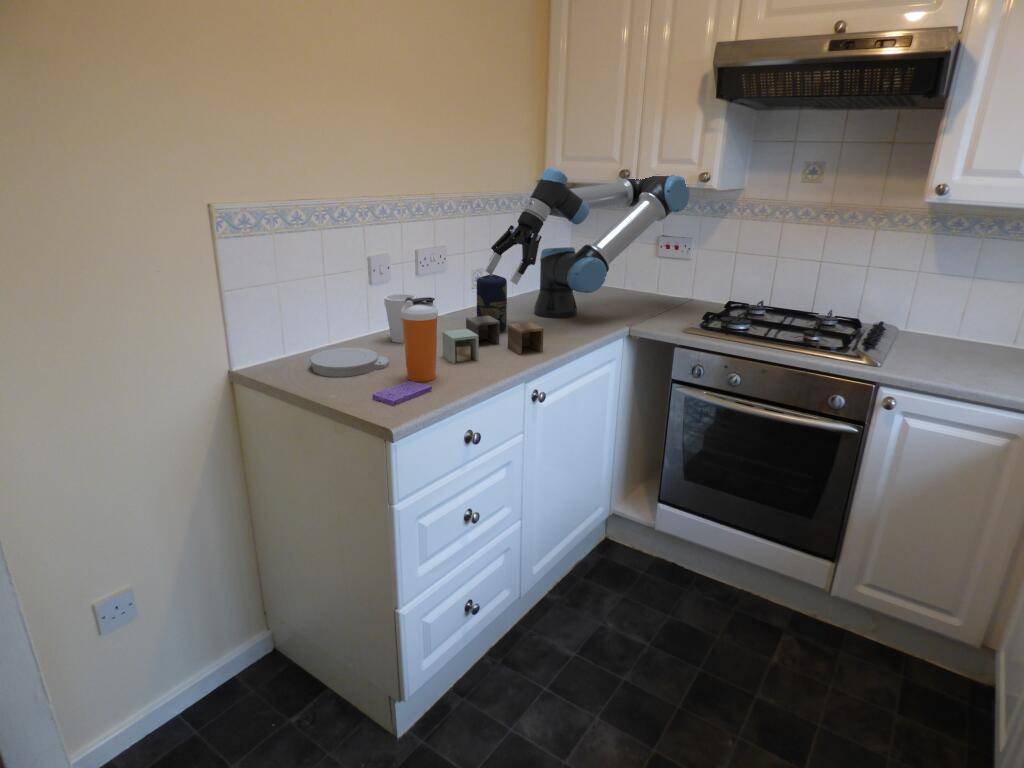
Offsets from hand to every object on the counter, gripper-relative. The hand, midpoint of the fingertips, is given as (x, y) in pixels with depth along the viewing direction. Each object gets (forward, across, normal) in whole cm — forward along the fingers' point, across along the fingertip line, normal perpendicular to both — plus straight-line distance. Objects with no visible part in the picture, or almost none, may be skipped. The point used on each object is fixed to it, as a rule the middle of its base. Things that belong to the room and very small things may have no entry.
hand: (500, 277), depth 199 cm
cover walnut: (+16, +22, +4) cm, 27 cm away
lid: (+43, +9, -36) cm, 56 cm away
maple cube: (+27, +19, -13) cm, 35 cm away
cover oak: (+20, +9, -1) cm, 22 cm away
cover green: (+27, +18, -13) cm, 35 cm away
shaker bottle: (+35, +27, -27) cm, 52 cm away
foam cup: (+31, -6, -16) cm, 36 cm away
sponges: (+40, +36, -35) cm, 64 cm away
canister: (+16, -1, +8) cm, 18 cm away
